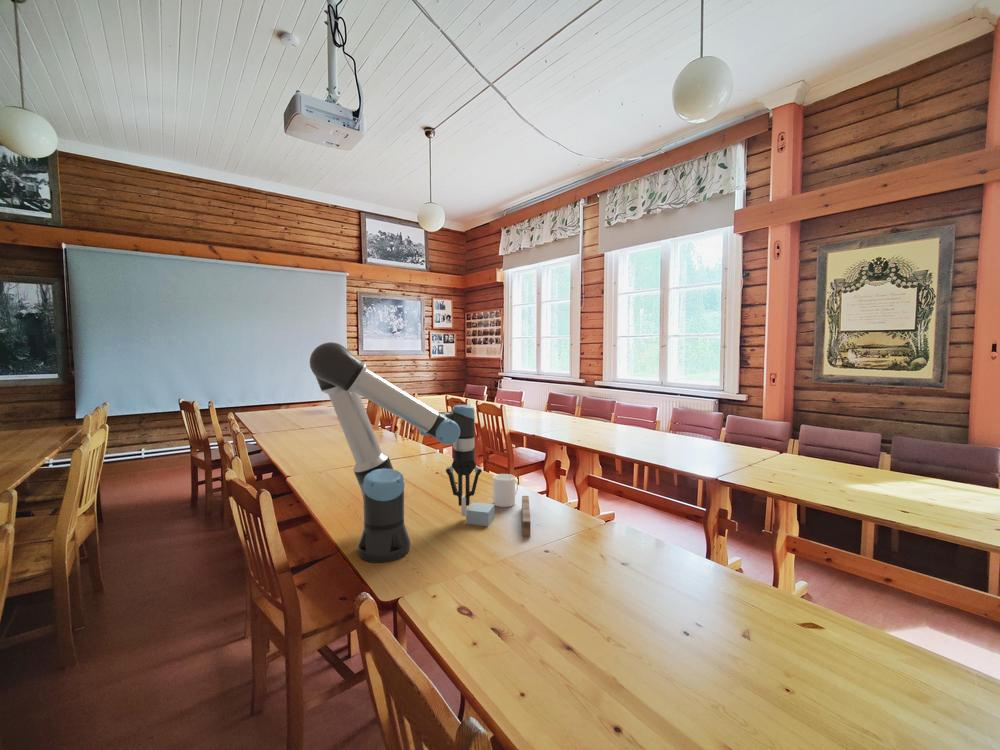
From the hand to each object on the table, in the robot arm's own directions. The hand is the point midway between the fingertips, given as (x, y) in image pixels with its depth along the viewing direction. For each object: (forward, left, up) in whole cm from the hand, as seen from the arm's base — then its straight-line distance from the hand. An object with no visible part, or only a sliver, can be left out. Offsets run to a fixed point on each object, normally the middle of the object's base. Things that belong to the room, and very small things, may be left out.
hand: (464, 514), depth 151 cm
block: (0, -6, -2) cm, 6 cm away
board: (0, -22, -2) cm, 22 cm away
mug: (+18, -15, -2) cm, 23 cm away
